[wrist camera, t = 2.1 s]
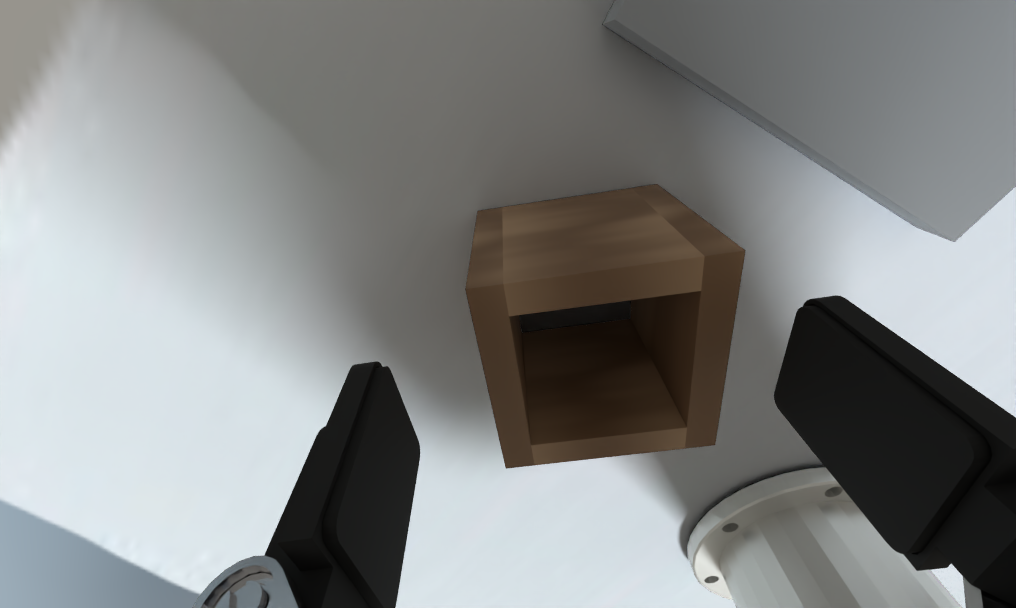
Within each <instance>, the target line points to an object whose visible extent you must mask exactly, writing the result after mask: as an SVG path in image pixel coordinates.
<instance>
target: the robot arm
mask: <svg viewBox="0 0 1016 608" xmlns="http://www.w3.org/2000/svg"><path fill="white" fill-rule="evenodd" d="M774 400H775V403H776V405H777V407H778V409H779V410H780V411H781V413H782V414H783V415H784V416H785V418H786V419H787V420H788V421H789V423H790V424H791V425H792V426H793V428H794V429H795V430H796V431H797V433H798V434H799V435H800V436H801V437H802V439H803V440H804V441H805V442H806V444H807V445H808V446H809V447H810V449H811V450H812V451H813V452H814V454H815V455H816V456H817V457H818V459H819V460H820V461H821V462H822V463H823V465H824V466H825V467H820V468H808V469H803V470H798V471H793V472H788V473H783V474H780V475H777V476H774V477H771V478H767V479H764V480H761V481H759V482H757V483H754V484H752V485H750V486H747V487H745V488H743V489H741V490H739V491H737V492H736V493H734V494H732V495H731V496H729V497H727V498H725V499H724V500H722V501H721V502H720V503H718V504H717V505H716V506H715V507H713V508H712V509H711V510H709V511H708V513H707V514H706V515H705V516H704V517H703V518H702V519H701V520H700V521H699V522H698V524H697V525H696V527H695V529H694V530H693V532H692V534H691V535H690V538H689V542H688V546H687V553H688V559H689V562H690V564H691V567H692V570H693V572H694V575H695V577H696V578H697V580H698V582H699V583H700V584H701V585H703V586H704V587H705V588H706V589H708V590H709V591H710V592H712V593H715V594H717V595H719V596H721V597H723V598H727V599H731V600H733V601H734V603H735V605H736V608H962V607H961V605H960V604H959V603H958V602H957V601H956V600H955V598H954V597H953V596H952V595H951V594H950V593H949V591H948V590H947V589H946V588H945V587H944V586H943V584H942V583H941V582H940V581H939V580H938V578H937V577H936V576H935V575H934V574H933V573H932V571H931V570H930V569H939V568H947V567H948V566H949V565H950V564H951V563H952V564H953V566H954V567H955V568H956V569H957V570H958V571H959V572H960V573H961V574H962V576H963V583H964V593H965V604H966V608H1016V418H1015V417H1014V416H1013V415H1011V414H1010V413H1008V412H1007V411H1005V410H1004V409H1003V408H1001V407H1000V406H998V405H997V404H995V403H994V402H993V401H991V400H990V399H988V398H987V397H985V396H984V395H983V394H981V393H980V392H978V391H977V390H975V389H974V388H973V387H971V386H970V385H968V384H967V383H965V382H964V381H963V380H961V379H960V378H958V377H957V376H955V375H954V374H953V373H951V372H950V371H948V370H947V369H945V368H944V367H943V366H941V365H940V364H938V363H937V362H935V361H934V360H933V359H931V358H930V357H928V356H927V355H925V354H924V353H923V352H921V351H920V350H918V349H917V348H915V347H914V346H912V345H911V344H910V343H908V342H907V341H905V340H904V339H902V338H901V337H900V336H898V335H897V334H895V333H894V332H892V331H891V330H890V329H888V328H887V327H885V326H884V325H882V324H881V323H880V322H878V321H877V320H875V319H874V318H872V317H871V316H870V315H868V314H867V313H865V312H864V311H862V310H861V309H860V308H858V307H857V306H855V305H854V304H852V303H851V302H850V301H848V300H847V299H845V298H843V297H841V296H829V297H822V298H815V299H810V300H807V301H806V302H805V303H804V305H803V307H801V308H799V309H798V311H797V313H796V316H795V320H794V324H793V327H792V331H791V334H790V338H789V342H788V345H787V349H786V352H785V356H784V360H783V363H782V367H781V370H780V374H779V378H778V381H777V385H776V388H775V392H774ZM419 460H420V445H419V441H418V438H417V436H416V433H415V431H414V428H413V426H412V423H411V421H410V418H409V416H408V413H407V411H406V408H405V406H404V403H403V400H402V398H401V395H400V393H399V390H398V388H397V385H396V383H395V380H394V378H393V375H392V373H391V370H390V368H389V367H387V366H386V367H382V365H381V364H380V363H379V362H370V363H363V364H356V365H353V366H352V367H351V369H350V371H349V373H348V376H347V378H346V380H345V383H344V385H343V387H342V390H341V392H340V394H339V397H338V399H337V402H336V404H335V406H334V409H333V411H332V413H331V416H330V418H329V420H328V423H327V425H326V427H323V428H322V429H321V430H320V431H319V433H318V435H317V436H316V439H315V441H314V443H313V445H312V448H311V450H310V452H309V455H308V457H307V459H306V462H305V464H304V466H303V468H302V471H301V473H300V475H299V478H298V480H297V482H296V484H295V487H294V489H293V491H292V494H291V496H290V498H289V500H288V503H287V505H286V507H285V510H284V512H283V514H282V516H281V519H280V521H279V523H278V526H277V528H276V530H275V532H274V535H273V537H272V539H271V542H270V544H269V546H268V548H267V551H266V553H265V555H264V556H253V557H250V558H247V559H244V560H241V561H239V562H237V563H236V564H234V565H232V566H231V567H229V568H227V569H226V570H225V571H223V572H222V573H221V574H220V575H219V576H218V577H216V578H215V579H214V580H213V581H212V582H211V583H210V584H209V585H208V586H207V588H206V589H205V590H204V591H203V592H202V594H201V595H200V596H199V597H198V599H197V601H196V602H195V604H194V606H193V607H192V608H395V606H396V601H397V595H398V589H399V583H400V577H401V570H402V564H403V558H404V552H405V546H406V540H407V534H408V527H409V521H410V515H411V509H412V503H413V497H414V490H415V484H416V478H417V472H418V466H419Z"/></svg>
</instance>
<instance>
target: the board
mask: <svg viewBox="0 0 1016 608" xmlns="http://www.w3.org/2000/svg"><path fill="white" fill-rule="evenodd" d="M602 25H604V26H606V27H607V28H609V29H610V30H612V31H613V32H615V33H616V34H618V35H619V36H621V37H623V38H624V39H626V40H627V41H629V42H630V43H632V44H633V45H635V46H636V47H638V48H640V49H641V50H643V51H644V52H646V53H647V54H649V55H650V56H652V57H653V58H655V59H657V60H658V61H660V62H661V63H663V64H664V65H666V66H667V67H669V68H670V69H672V70H674V71H675V72H677V73H678V74H680V75H681V76H683V77H684V78H686V79H687V80H689V81H691V82H692V83H694V84H695V85H697V86H698V87H700V88H701V89H703V90H704V91H706V92H708V93H709V94H711V95H712V96H714V97H715V98H717V99H718V100H720V101H722V102H723V103H725V104H726V105H728V106H729V107H731V108H732V109H734V110H735V111H737V112H739V113H740V114H742V115H743V116H745V117H746V118H748V119H749V120H751V121H752V122H754V123H756V124H757V125H759V126H760V127H762V128H763V129H765V130H766V131H768V132H769V133H771V134H773V135H774V136H776V137H777V138H779V139H780V140H782V141H783V142H785V143H786V144H788V145H790V146H791V147H793V148H794V149H796V150H797V151H799V152H800V153H802V154H803V155H805V156H807V157H808V158H810V159H811V160H813V161H814V162H816V163H817V164H819V165H820V166H822V167H824V168H825V169H827V170H828V171H830V172H831V173H833V174H834V175H836V176H837V177H839V178H841V179H842V180H844V181H845V182H847V183H848V184H850V185H851V186H853V187H855V188H856V189H858V190H859V191H861V192H862V193H864V194H865V195H867V196H868V197H870V198H872V199H873V200H875V201H876V202H878V203H879V204H881V205H882V206H884V207H885V208H887V209H889V210H890V211H892V212H893V213H895V214H896V215H898V216H899V217H901V218H902V219H904V220H906V221H907V222H909V223H910V224H912V225H913V226H915V227H917V228H919V229H922V230H924V231H927V232H930V233H932V234H935V235H937V236H940V237H942V238H945V239H948V240H950V241H953V242H955V241H956V240H957V239H958V238H959V237H960V236H962V235H963V234H964V233H965V232H966V231H967V230H968V229H969V228H970V227H971V226H973V225H974V224H975V223H976V222H977V221H978V220H979V219H980V218H981V217H982V216H984V215H985V214H986V213H987V212H988V211H989V210H990V209H991V208H992V207H994V206H995V205H996V204H997V203H998V202H999V201H1000V200H1001V199H1002V198H1003V197H1005V196H1006V195H1007V194H1008V193H1009V192H1010V191H1011V190H1012V189H1013V188H1014V187H1016V0H615V1H614V3H613V5H612V7H611V9H610V11H609V13H608V14H607V16H606V18H605V20H604V22H603V24H602Z"/></svg>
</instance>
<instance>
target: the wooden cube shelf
mask: <svg viewBox="0 0 1016 608" xmlns="http://www.w3.org/2000/svg"><path fill="white" fill-rule="evenodd" d="M744 256H745V250H744V249H743V248H741V247H740V246H739V245H737V244H736V243H735V242H733V241H732V240H731V239H729V238H728V237H727V236H725V235H724V234H723V233H721V232H720V231H719V230H717V229H716V228H715V227H713V226H712V225H711V224H709V223H708V222H707V221H705V220H704V219H703V218H701V217H700V216H699V215H697V214H696V213H695V212H693V211H692V210H691V209H690V208H688V207H687V206H686V205H684V204H683V203H682V202H680V201H679V200H678V199H676V198H675V197H674V196H672V195H671V194H670V193H668V192H667V191H666V190H664V189H663V188H662V187H660V186H659V185H658V184H654V185H648V186H641V187H634V188H628V189H621V190H614V191H608V192H601V193H594V194H588V195H581V196H574V197H568V198H561V199H554V200H547V201H541V202H534V203H527V204H521V205H514V206H507V207H501V208H494V209H487V210H481V211H478V212H477V218H476V225H475V231H474V237H473V244H472V250H471V256H470V263H469V269H468V276H467V282H466V288H465V290H466V294H467V299H468V303H469V308H470V312H471V316H472V321H473V325H474V330H475V334H476V339H477V343H478V347H479V352H480V356H481V361H482V365H483V369H484V374H485V378H486V383H487V387H488V392H489V396H490V400H491V405H492V409H493V414H494V418H495V423H496V427H497V431H498V436H499V440H500V445H501V449H502V454H503V458H504V462H505V467H506V468H514V467H523V466H532V465H541V464H550V463H559V462H568V461H577V460H586V459H595V458H604V457H613V456H622V455H631V454H640V453H649V452H658V451H666V450H675V449H684V448H693V447H702V446H711V445H715V442H716V436H717V430H718V423H719V417H720V410H721V404H722V397H723V391H724V385H725V378H726V372H727V365H728V359H729V353H730V346H731V340H732V333H733V327H734V320H735V314H736V308H737V301H738V295H739V288H740V282H741V275H742V269H743V263H744ZM629 300H631V319H623V320H616V321H608V322H600V323H593V324H585V325H577V326H570V327H562V328H554V329H547V330H539V331H532V332H524V333H522V330H521V323H520V317H519V315H524V314H531V313H539V312H546V311H554V310H561V309H569V308H576V307H584V306H591V305H599V304H606V303H614V302H621V301H629Z"/></svg>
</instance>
